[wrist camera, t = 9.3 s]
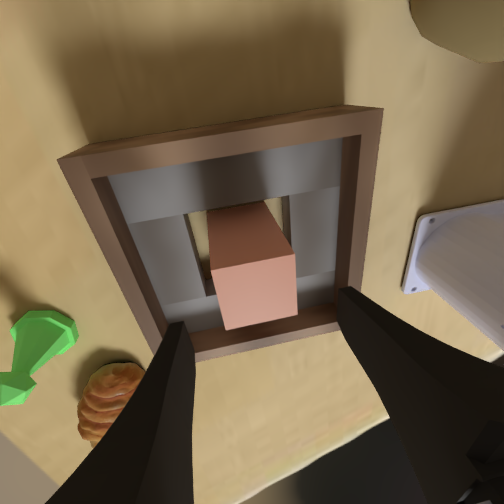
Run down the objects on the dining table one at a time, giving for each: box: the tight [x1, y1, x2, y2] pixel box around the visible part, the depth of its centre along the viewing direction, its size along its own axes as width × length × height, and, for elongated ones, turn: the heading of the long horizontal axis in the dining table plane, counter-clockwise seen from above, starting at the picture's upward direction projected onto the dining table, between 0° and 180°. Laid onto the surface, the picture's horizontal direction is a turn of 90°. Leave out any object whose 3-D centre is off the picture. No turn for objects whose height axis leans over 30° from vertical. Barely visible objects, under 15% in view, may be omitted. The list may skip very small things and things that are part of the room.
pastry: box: [77, 362, 145, 448], centre depth 25 cm, size 9×7×4 cm
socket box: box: [57, 105, 384, 363], centre depth 18 cm, size 15×15×4 cm
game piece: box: [0, 310, 79, 406], centre depth 18 cm, size 4×4×6 cm
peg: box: [207, 202, 298, 330], centre depth 16 cm, size 4×4×7 cm
